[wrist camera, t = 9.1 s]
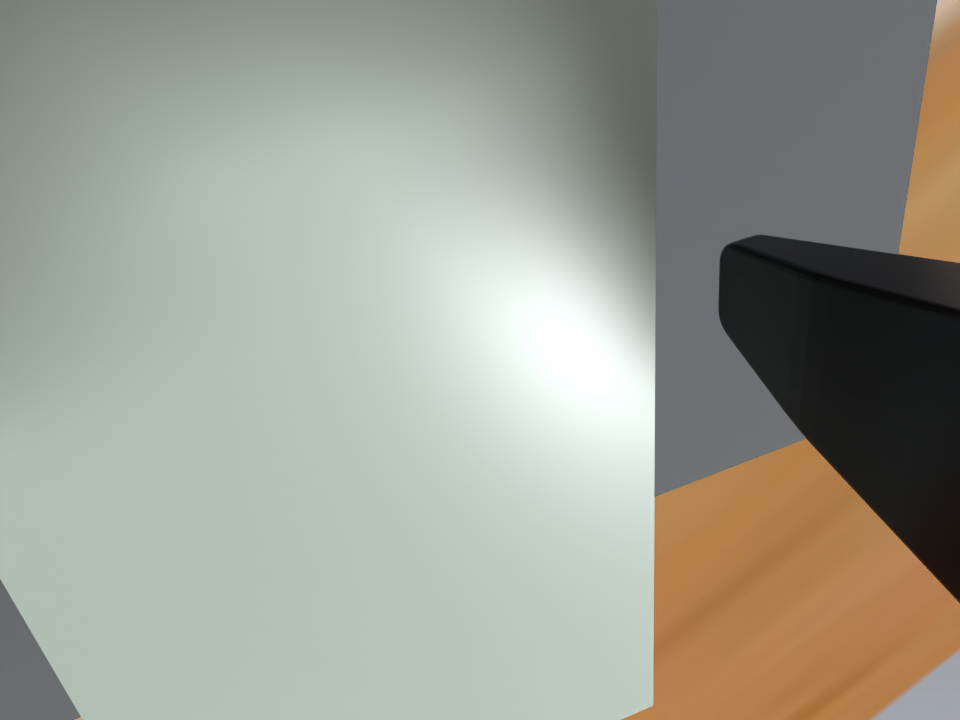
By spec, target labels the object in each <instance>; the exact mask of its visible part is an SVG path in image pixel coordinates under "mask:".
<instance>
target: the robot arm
mask: <svg viewBox="0 0 960 720" xmlns="http://www.w3.org/2000/svg"><path fill="white" fill-rule="evenodd" d="M718 312H719V318H720V322H721V325H722V327H723V329H724V331H725V332H726V334H727V335H728V337H729V338H730V339H731V341H732V342H733V343H734V345H735V346H736V347H737V349H738V350H739V351H740V353H741V354H742V356H743V357H744V358H745V360H746V361H747V362H748V364H749V365H750V366H751V368H752V369H753V370H754V372H755V373H756V374H757V376H758V377H759V378H760V380H761V381H762V382H763V384H764V385H765V386H766V388H767V389H768V390H769V392H770V393H771V394H772V396H773V397H774V398H775V400H776V401H777V402H778V404H779V405H780V406H781V408H782V409H783V411H784V412H785V413H786V414H787V416H788V417H789V418H790V419H791V421H792V422H793V423H794V424H795V426H796V427H797V428H798V429H799V431H800V432H801V433H802V434H803V435H804V436H805V437H806V439H807V440H808V441H809V442H810V443H811V444H812V445H813V446H814V447H815V449H816V450H817V451H818V452H819V453H820V454H821V455H822V456H823V457H824V458H825V459H826V460H827V461H828V462H829V464H830V465H831V466H832V467H833V468H834V469H835V470H836V471H837V472H838V473H839V474H840V475H841V476H842V478H843V479H844V480H845V481H846V482H847V483H848V484H849V485H850V486H851V487H852V488H853V489H854V490H855V491H856V493H857V494H858V495H859V496H860V497H861V498H862V499H863V500H864V501H865V502H866V503H867V504H868V505H869V506H870V508H871V509H872V510H873V511H874V512H875V513H876V514H877V515H878V516H879V517H880V518H881V519H882V520H883V521H884V523H885V524H886V525H887V526H888V527H889V528H890V529H891V530H892V531H893V532H894V533H895V534H896V535H897V536H898V538H899V539H900V540H901V541H902V542H903V543H904V544H905V545H906V546H907V547H908V548H909V549H910V550H911V551H912V553H913V554H914V555H915V556H916V557H917V558H918V559H919V560H920V561H921V562H922V563H923V564H924V565H925V566H926V568H927V569H928V570H929V571H930V572H931V573H932V574H933V575H934V576H935V577H936V578H937V579H938V580H939V581H940V583H941V584H942V585H943V586H944V587H945V588H946V589H947V590H948V591H949V592H950V593H951V594H952V595H953V596H954V598H955V599H956V600H957V601H958V602H959V603H960V263H955V262H949V261H942V260H935V259H928V258H921V257H914V256H907V255H900V254H893V253H886V252H879V251H872V250H866V249H859V248H852V247H845V246H838V245H831V244H824V243H817V242H810V241H803V240H796V239H789V238H782V237H776V236H769V235H753V236H750V237H747V238H744V239H741V240H738V241H734V242H731V243H729V244H727V245H726V246H725V247H724V248H723V250H722V252H721V255H720V262H719V300H718Z"/></svg>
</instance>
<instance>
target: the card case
mask: <svg viewBox="0 0 960 720" xmlns="http://www.w3.org/2000/svg"><path fill="white" fill-rule="evenodd" d="M656 149H657V0H0V580H1V581H2V583H3V585H4V586H5V588H6V590H7V591H8V593H9V595H10V597H11V598H12V600H13V602H14V603H15V605H16V607H17V609H18V610H19V612H20V614H21V615H22V617H23V619H24V620H25V622H26V624H27V626H28V627H29V629H30V631H31V632H32V634H33V636H34V638H35V639H36V641H37V643H38V644H39V646H40V648H41V650H42V651H43V653H44V655H45V656H46V658H47V660H48V661H49V663H50V665H51V667H52V668H53V670H54V672H55V673H56V675H57V677H58V679H59V680H60V682H61V684H62V685H63V687H64V689H65V691H66V692H67V694H68V696H69V697H70V699H71V701H72V702H73V704H74V706H75V708H76V709H77V711H78V713H79V714H80V716H81V718H82V720H621V719H623V718H626V717H628V716H630V715H633V714H635V713H637V712H639V711H642V710H644V709H646V708H649V707H651V706H653V648H654V481H655V315H656Z"/></svg>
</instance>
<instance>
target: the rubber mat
mask: <svg viewBox="0 0 960 720" xmlns="http://www.w3.org/2000/svg"><path fill="white" fill-rule="evenodd" d="M936 4H937V0H657V149H656V315H655V481H654V497H655V496H658V495H660V494H663V493H665V492H668V491H671V490H673V489H676V488H678V487H681V486H684V485H686V484H689V483H691V482H694V481H697V480H699V479H702V478H704V477H707V476H710V475H712V474H715V473H717V472H720V471H723V470H725V469H728V468H730V467H733V466H736V465H738V464H741V463H743V462H746V461H749V460H751V459H754V458H756V457H759V456H762V455H764V454H767V453H769V452H772V451H775V450H777V449H780V448H782V447H785V446H788V445H790V444H793V443H795V442H798V441H801V440H803V439H806V437H805V436H804V435H803V434H802V433H801V432H800V431H799V429H798V428H797V427H796V426H795V424H794V423H793V422H792V421H791V419H790V418H789V417H788V416H787V414H786V413H785V412H784V411H783V409H782V408H781V406H780V405H779V404H778V402H777V401H776V400H775V398H774V397H773V396H772V394H771V393H770V392H769V390H768V389H767V388H766V386H765V385H764V384H763V382H762V381H761V380H760V378H759V377H758V376H757V374H756V373H755V372H754V370H753V369H752V368H751V366H750V365H749V364H748V362H747V361H746V360H745V358H744V357H743V356H742V354H741V353H740V351H739V350H738V349H737V347H736V346H735V345H734V343H733V342H732V341H731V339H730V338H729V337H728V335H727V334H726V332H725V331H724V329H723V327H722V325H721V322H720V318H719V312H718V300H719V262H720V255H721V252H722V250H723V248H724V247H725V246H726V245H727V244H729V243H731V242H734V241H738V240H741V239H744V238H747V237H750V236H753V235H769V236H776V237H782V238H789V239H796V240H803V241H810V242H817V243H824V244H831V245H838V246H845V247H852V248H859V249H866V250H872V251H879V252H886V253H893V254H898V252H899V245H900V239H901V232H902V226H903V219H904V213H905V206H906V200H907V193H908V187H909V180H910V174H911V167H912V161H913V154H914V148H915V141H916V135H917V128H918V122H919V115H920V109H921V102H922V96H923V89H924V83H925V76H926V70H927V63H928V56H929V50H930V43H931V37H932V30H933V24H934V17H935V11H936ZM80 717H81V716H80V714H79V713H78V711H77V709H76V708H75V706H74V704H73V702H72V701H71V699H70V697H69V696H68V694H67V692H66V691H65V689H64V687H63V685H62V684H61V682H60V680H59V679H58V677H57V675H56V673H55V672H54V670H53V668H52V667H51V665H50V663H49V661H48V660H47V658H46V656H45V655H44V653H43V651H42V650H41V648H40V646H39V644H38V643H37V641H36V639H35V638H34V636H33V634H32V632H31V631H30V629H29V627H28V626H27V624H26V622H25V620H24V619H23V617H22V615H21V614H20V612H19V610H18V609H17V607H16V605H15V603H14V602H13V600H12V598H11V597H10V595H9V593H8V591H7V590H6V588H5V586H4V585H3V583H2V581H1V580H0V720H75V719H77V718H80Z"/></svg>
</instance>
